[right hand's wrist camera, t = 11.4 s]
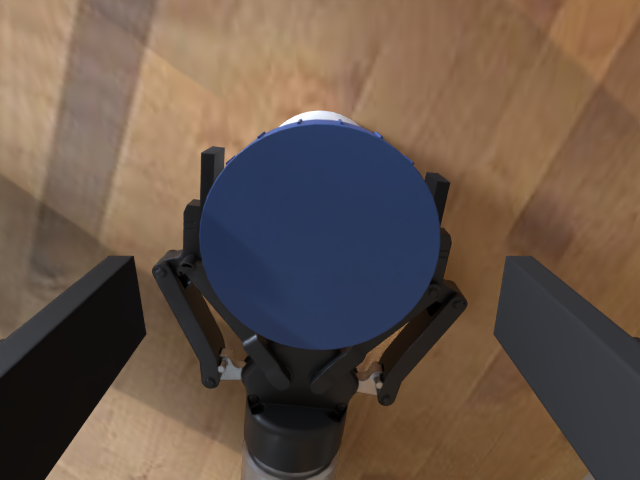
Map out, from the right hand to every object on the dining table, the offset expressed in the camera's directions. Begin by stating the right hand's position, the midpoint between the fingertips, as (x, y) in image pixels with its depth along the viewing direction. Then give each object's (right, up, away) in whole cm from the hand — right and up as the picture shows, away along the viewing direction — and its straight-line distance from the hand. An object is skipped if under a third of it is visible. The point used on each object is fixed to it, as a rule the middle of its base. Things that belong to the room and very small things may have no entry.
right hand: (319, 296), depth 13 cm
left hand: (0, +6, +12) cm, 14 cm away
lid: (0, +2, +4) cm, 4 cm away
